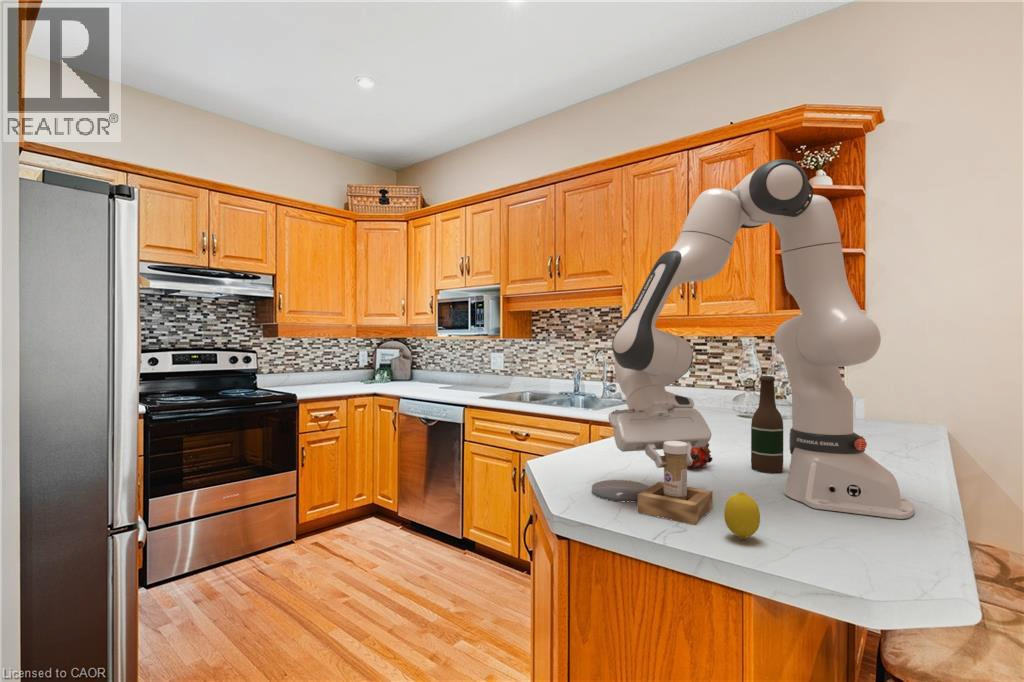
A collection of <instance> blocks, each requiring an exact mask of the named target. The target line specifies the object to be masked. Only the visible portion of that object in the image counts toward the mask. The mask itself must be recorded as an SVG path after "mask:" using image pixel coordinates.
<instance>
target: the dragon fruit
mask: <svg viewBox="0 0 1024 682" xmlns="http://www.w3.org/2000/svg"><path fill="white" fill-rule="evenodd" d="M709 447H710V443H709V442H708V443H707V445H706V446H705V447H695V448H691V453H690V456H691V458H692V460H693V463H692V464H691V466H687V470H692V469H694V468H695V467H698V468H701V469H702V468H704V467H705V466H706V465H707V464H709V463H711V462H712V461H713V457H712V455H711V454H710V453H711V452H712V451H711V449H710V448H709Z"/></svg>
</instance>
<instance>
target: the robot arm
mask: <svg viewBox="0 0 1024 682" xmlns="http://www.w3.org/2000/svg"><path fill="white" fill-rule="evenodd" d="M768 223H770V224H771V225H772V226H773V227H774V229H775V230H776V231H777V234H778V236H779V239H780V244H779V245H780V252H781V261H782V269H783V276H784V277H783V278H784V283H785V285H784V286H785V287H786V291H787V293H789V294H790V295H791V296H792V297H793V299H794V300H795V301H796V303H797V305H798V308H799V310H800V313H801V314H800V315H796V316H793V317H792V318H789V319H786V320H784V321H783V322H782V323H781V324H780V325H779V326H778V327H777V328H776V330H775V333H774V335H773V336H774V337H773V343H774V347H775V348H776V351H777V352H778V353H779V354H780V356H781V357H782V360H783V363H784V365H785V370H786V374H787V376H788V381H789V385H790V391H791V399H792V401H791V402H792V403H791V405H792V406H791V407H792V408H791V409H792V410H791V411H792V418H791V419H792V427H791V428H790V429H789V430H790V431H789V438H788V439H789V442H788V443H789V451H790V452H789V453H790V455H791V456H790V463H789V464H790V465H789V471H788V476H787V480H786V483H785V486H784V490H783V494H784V495H786V496H787V497H788V498H791V499H792V500H795V501H798V502H801V503H803V504H805V505H806V506H808V507H810V508H813V509H817V510H825V511H834V512H840V513H841V512H842V513H848V514H850V513H851V514H857V515H865V516H873V517H874V516H875V517H879V518H881V517H882V518H889V519H898V520H903V519H908V518H911V517H912V516H913V515H914V514H915V508H914V504H913V502H912V501H910V500H909V499H907V498H906V497H904V496H901V492H900V487H899V484H898V481H897V479H896V477H895V476H894V474H893V473H892V472H891V471H890V470H888V468H886V467H885V466H883V465H882V464H880V463H879V462H878V461H876V460H875V459H874V458H872V457H871V456H870V455H868V454H867V453H866V452H865V451H866V448H867V446H868V443H867V441H866V439H865V438H864V436H863V435H861V436H860V434H857V433H856V432H854V396H853V393H852V391H851V390H850V389H849V388H848V387H847V385H846V383H845V382H844V380H843V378H842V375H841V372H840V368H842V367H850V366H855V365H859V364H863V363H866V362H868V361H870V360H871V359H872V358H873V357H874V356H875V355H876V354H877V352H878V350H879V349H880V347H881V339H882V337H881V332H880V330H879V328H878V326H877V324H876V322H874V321H873V320H872V319H871V318H870V317H868V316H867V315H866V314H865V313H864V312H863V311H862V309H861V308H860V306H859V304H858V302H857V299H855V296H854V295H853V292H852V289H851V288H850V285H849V284H850V283H849V281H848V277H847V274H846V273H847V272H846V267H845V260H844V254H843V246H842V238H841V232H840V229H839V224H838V219H837V217H836V214H835V210H834V208H833V206H832V203H831V201H830V200H829V199H828V198H827V197H825V196H822V195H819V194H814V187H813V186H812V185H811V183H810V182H809V177H808V175H807V173H806V172H805V170H804V169H803V168H802V167H801V166H800V164H798V163H797V162H796V161H794V160H791V159H787V158H783V159H781V158H780V159H774V160H770V161H768V162H765V163H763V164H761V165H760V166H759V167H757V168H756V169H754V170H753V171H751V172H750V173H748V174H747V175H746V176H744V178H742V180H741V181H740V182H739V183H738V184H737V185H735V186H734V187H733V188H732V189H731V190H728V189H725V188H721V187H720V188H719V187H716V188H715V187H714V188H709V189H706V190H703V191H702V192H701V193H700V194H699V195H698V196H697V198H696V199H695V201H694V202H693V205H692V207H691V208H690V210H689V212H688V214H687V216H686V218H685V221H684V223H683V226H682V227H681V231H680V233H679V235H678V239H677V241H675V244H674V246H673V247H672V248H671V249H670V250H669V251H665V252H664V253H663V254H662V255H660V256H659V257H658V259H657V260H656V262H655V263H654V264H653V266H652V268H651V270H650V272H649V274H648V276H647V278H646V280H645V281H644V283H643V285H642V288H641V289H640V290H639V293H638V295H637V297H636V299H635V301H634V303H633V304H632V307H631V308H630V310H629V313H628V314H627V316H626V318H625V319H624V320H623V322H622V323H621V325H620V326H619V327H618V329H617V330H616V332H615V333H614V336H613V338H612V343H611V350H612V353H613V356H614V361H613V362H614V363H613V364H614V365H613V367H614V371H615V372H614V374H615V377H616V381H618V382H617V383H618V385H619V388H620V390H621V391H622V393H623V394H624V395H625V401H626V405H627V409H614V410H612V412H610V413H609V414H608V418H607V419H608V421H609V424H610V426H611V428H612V430H613V431H612V432H613V433H612V434H613V436H614V441H615V446H616V448H617V449H618V450H619V451H621V452H622V453H623V452H625V453H626V452H639V451H640V452H641V451H642V452H644V453H645V454H646V456H647V457H649V458H650V459H651V460H652V461H653V462H654V463H655V466H656V468H657V469H658V468H659V469H662V468H663V469H664V467H665V466H666V465H667V462H666V460H665V457H664V455H660V454H659V453H658V452H657V451H659V450H661V451H662V450H663V443H664V442H665V441H682V442H685V443H687V445H688V453H687V466H691V464H692V463H693V460H692V458H691V456H690V453H691V448H695V447H705V446H706V445H707V443H709V442H710V441H711V439H712V434H713V433H712V431H711V430H710V427H709V425H708V423H707V421H706V420H705V418H704V417H703V415H702V414H701V412H700V411H698V409H695V407H694V406H695V402H694V400H693V399H692V398H691V397H688V396H683V395H679V394H675V393H673V392H670V391H667V390H666V387H668V386H670V385H672V384H673V383H675V382H676V381H678V380H679V379H681V378H682V377H683V376H684V375H686V374H687V373H688V372H689V371H690V369H691V367H692V364H693V360H694V351H693V348H692V345H691V344H690V342H689V341H688V339H687V340H686V339H685V338H683V337H680V336H679V335H675V334H672V333H670V332H666V331H664V330H661V329H659V328H657V327H656V322H657V320H658V318H659V316H660V314H661V312H662V310H663V308H664V306H665V305H666V303H667V300H668V298H669V297H670V295H671V293H672V292H673V290H674V289H675V288H676V287H677V286H679V285H681V284H683V283H692V282H693V283H694V282H695V283H697V282H703V281H707V280H710V279H712V278H714V277H716V276H717V275H719V274H720V273H721V272H722V271H723V270H724V268H725V266H726V264H727V263H728V260H729V258H730V256H731V252H732V249H733V246H734V243H735V241H736V236H737V234H738V232H739V230H740V229H755V228H759V227H761V226H764V225H765V224H766V225H767V224H768ZM839 367H840V368H839Z"/></svg>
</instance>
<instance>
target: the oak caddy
mask: <svg viewBox="0 0 1024 682" xmlns="http://www.w3.org/2000/svg"><path fill="white" fill-rule="evenodd" d="M713 492H714V491H713V490H708V489H703V488H696V487H691V486H687V501H686V500H681V499H676V498H670V497H665V496H664V481H657V482H656V483H654V484H653V485H651V486H649V488H648V489H646V490H644V491H643V492H641V493H639V494H638V502H637V513H638V512H641V513H640V514H642V513H645V514H644V515H647V514H649V515H648V516H652V515H654V516H653V517H656V516H659V517H658V518H661V517H664V518H663V519H665V518H667V519H666V520H670V519H672V521H675V520H676V521H675V522H679V523H684V522H685V523H684V524H689V525H693V524H694V525H696V524H697V523H698V522H699V520H700V519H701V518H702V517H703V516H704V515H705V514H706V513H707V514H709V513H710V512H711V511H712V510H711V509H712V508H713V500H714V499H713V498H714V497H713ZM707 514H706V515H707ZM706 515H705V516H706ZM705 516H704V517H705ZM704 517H703V518H704ZM703 518H702V519H703ZM700 521H701V520H700Z"/></svg>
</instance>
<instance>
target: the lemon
mask: <svg viewBox="0 0 1024 682" xmlns="http://www.w3.org/2000/svg"><path fill="white" fill-rule="evenodd" d="M723 511H724V514H723V516H724V522H725V525H726V526H727V528H728V530H729V531H730V532H731V533H733V534H734V535H736V536H737V537H738V538H739V539H740V540H745V539H746V538H747V537H751V536H752V535H754V534H756V532H758V530H759V527H760V523H761V512H760V508H759V505H758V503H757V502H756V501H755V499H754V498H753V497H752V496H750V495H748V494H746V493H745V492H744V491H740V492H738V493H736V494H735V493H734V494H732V495H731V496H730V497H729V498H728V499H727V500H726V503H725V507H724V510H723Z"/></svg>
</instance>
